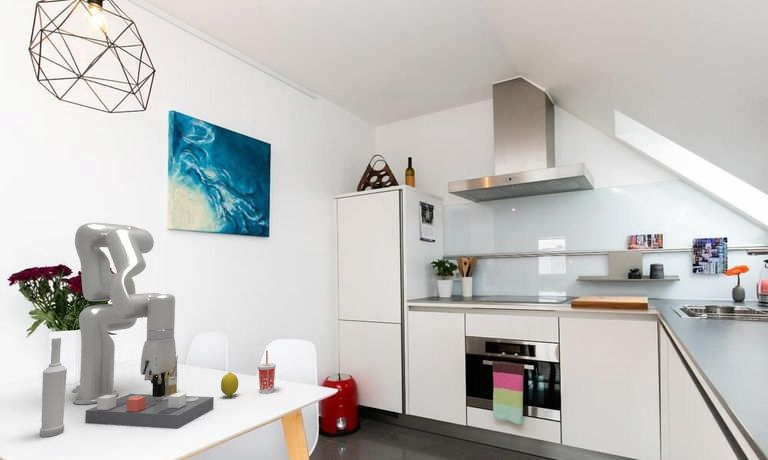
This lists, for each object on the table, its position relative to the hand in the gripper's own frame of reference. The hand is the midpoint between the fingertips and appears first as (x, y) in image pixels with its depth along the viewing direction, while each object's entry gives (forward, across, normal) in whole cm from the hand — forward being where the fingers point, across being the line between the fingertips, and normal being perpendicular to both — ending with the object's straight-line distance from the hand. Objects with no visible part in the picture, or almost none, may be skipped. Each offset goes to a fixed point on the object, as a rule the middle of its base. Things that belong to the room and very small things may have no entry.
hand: (158, 396), depth 127 cm
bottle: (+5, +19, -17) cm, 26 cm away
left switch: (+1, +9, -10) cm, 13 cm away
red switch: (+1, +9, 0) cm, 9 cm away
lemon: (+5, -17, +13) cm, 22 cm away
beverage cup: (+5, -24, +23) cm, 34 cm away
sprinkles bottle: (+5, -17, -10) cm, 20 cm away
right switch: (+1, +5, +10) cm, 12 cm away
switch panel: (+5, +3, 0) cm, 6 cm away
